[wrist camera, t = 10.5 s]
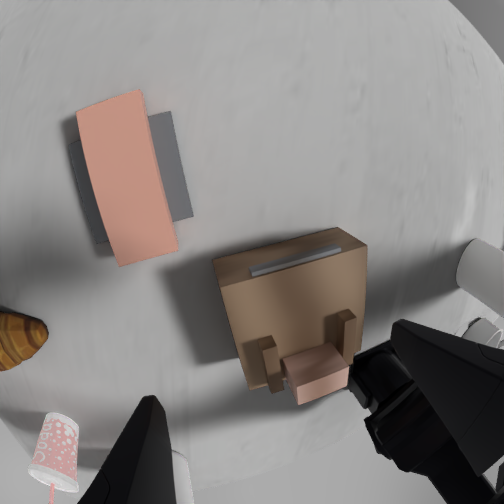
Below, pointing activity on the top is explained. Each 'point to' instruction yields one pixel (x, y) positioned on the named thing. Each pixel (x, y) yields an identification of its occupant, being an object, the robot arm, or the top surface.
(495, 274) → the cylindrical container
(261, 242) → the top surface
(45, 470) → the beverage cup
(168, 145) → the pad
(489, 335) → the saucepan
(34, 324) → the croissant
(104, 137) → the salmon pink rectangular block
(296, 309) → the dispenser
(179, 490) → the milk bottle
